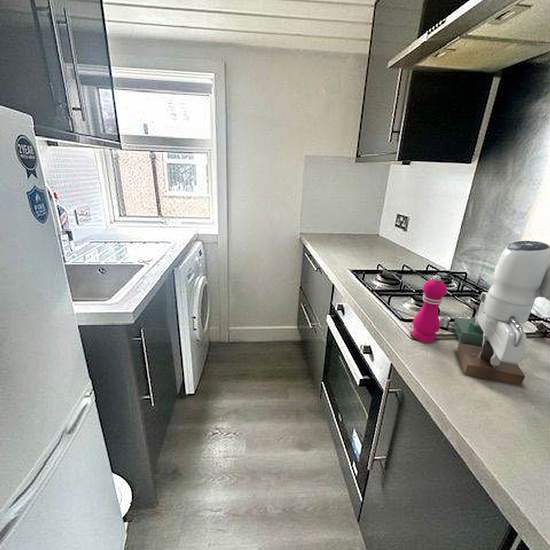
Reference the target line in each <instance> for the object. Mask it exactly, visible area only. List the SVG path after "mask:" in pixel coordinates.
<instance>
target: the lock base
mask: <svg viewBox="0 0 550 550" xmlns="http://www.w3.org/2000/svg"><path fill="white" fill-rule="evenodd" d="M482 349H483V348H482V346H479V345H474V344H468V343H463V342H458V345H457V348H456V355H457V357H458V360H459V363H460V366H461V368H462V371H463V373H464V375H465V376H470V377H475V378H481V379H485V380H489V381H495V382H499V383H504V384H509V385H513V386H518V387H522V385H523V383H524V380H525V378H526V375H525V374H524V371H522V369H521V367H520V366H519V363H518V364H510V363H505V362H502V361H501V362H500V364H499V366H494V365H491V363H490V362H489V361H486V360H484V359H483V358H482V357H481V352H482Z"/></svg>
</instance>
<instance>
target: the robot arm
mask: <svg viewBox="0 0 550 550" xmlns="http://www.w3.org/2000/svg"><path fill="white" fill-rule="evenodd" d="M492 279H493V281H492V285H491V286H490V288H489V289H488V291H482V292H481V293H480V296H479V297H480V303H479V308H478V313H477V315H478V323H479V325H480V327H481V328H482V330H483V332H484V334H483V344H482V346H481V347H482V348H483V346H484V343H485V341H487V340H488V341H489V342H490V344H491V346H492V348H493V349H494V354H493V356H490V359H489V361H490V363H491V365H494V366H499V364H500V362H501V361H502V362H505V363H510V364H518V365H519V364H520V363H521V361H522V358H523V356H524V352H525V349H526V345H527V335H526V332H525V331H524V327H523V325H522V324H525V323H527V322H528V321H529V317H530V315H531V312H532V310H533V307H534V305H535V302H536V299H538V298H544V299H546V300H547V301H549V302H550V244H548V243H545V242H541V241H536V240H535V241H534V240H518V241H514V242H512V243H509V244H508V245H507V246H506V247H505V248H504V249H503V251H502V252H501V254H500V256H499V258H498V261H497V263H496V266H495V269H494V272H493V275H492Z"/></svg>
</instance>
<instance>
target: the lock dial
mask: <svg viewBox="0 0 550 550" xmlns="http://www.w3.org/2000/svg"><path fill="white" fill-rule="evenodd" d="M493 354H494V349H493V348H492V346H491V344H490V342H489V341H488V340H487V341H485V343H484V346H483V349H482V352H481V357H482V358H483V359H484V360H486V361H489V359H490V356H493ZM489 362H490V361H489Z"/></svg>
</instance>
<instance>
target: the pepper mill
mask: <svg viewBox="0 0 550 550" xmlns="http://www.w3.org/2000/svg"><path fill="white" fill-rule="evenodd" d="M422 291H423V294H422V300H423V304H422V306H421V308H420V310H419V311H418V312H417V313H416V314H415V316H414V318H413V320H412V326H413V327H414V328H413V329H412V332H411V334H412V337H413V338H414V339H415V340H417V341H419V342H422V343H433V342H435V340H436V336H437V334H436V333H438V332H439V331H440V328H441V321H440V317H439V311H438V310H439V307H440V305H441V304H442V303H443V297H444V296H445V295H446V294H447V291H448V287H447V285H446V284H445V283H444V282H443V281H442V278H441V276H440V275H438V274H436V275H434V277H433V279H429V280H426V281H425V282H424V283H423V286H422Z"/></svg>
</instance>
